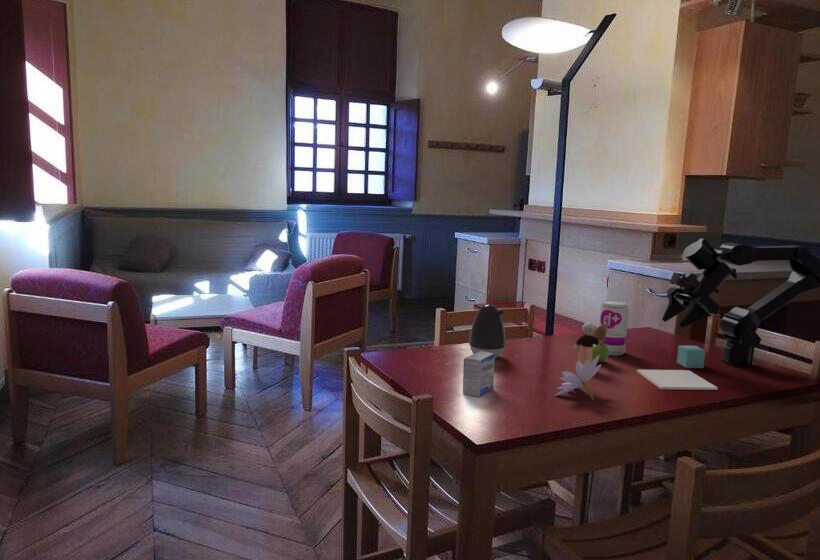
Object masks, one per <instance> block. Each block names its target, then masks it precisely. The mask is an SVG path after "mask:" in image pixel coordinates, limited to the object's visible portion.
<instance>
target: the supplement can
mask: <svg viewBox="0 0 820 560" xmlns="http://www.w3.org/2000/svg"><path fill="white" fill-rule="evenodd" d="M629 311H630V308H629V307H628V303H627V302H626V301H625V302H624V301H619V300H609V299H608V300H603V301H601V303H600V305H599V306H598V314H597V315H598V316H597V327H598V326H603V324H604V323H605V318H608V319H609V320H606V322H608V327H607V334H606V337H605V340H604V341H603V343H602V344H604V345H606V346H607V348H608V350H609V356H615V357H616V356H622V355H623V354H625V352H626V346H627V345H626V344H627V337H628V335H627V334H628V323H629Z"/></svg>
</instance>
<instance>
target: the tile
mask: <svg viewBox="0 0 820 560" xmlns="http://www.w3.org/2000/svg"><path fill="white" fill-rule="evenodd" d="M636 373H638V374H639V375H640V376H642V377H643V378H644V379H646V380H648V381H649V382H650V383H651V384H653V385H655V386H656V387H657V388H659V389H660V390H683V391H684V390H687V391H689V390H690V391H693V390H696V391H700V390H701V391H704V390H705V391H717V390H719V389H718V386H716V385H714V384H712V383H711V382H709V381H707V380H706V379H704V378H703V377H701V376H700V375H697V374H696V373H694V372H692V371H691V370H688V369H687V370H686V369H684V370H683V369H636Z"/></svg>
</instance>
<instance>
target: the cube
mask: <svg viewBox="0 0 820 560" xmlns="http://www.w3.org/2000/svg"><path fill="white" fill-rule="evenodd" d="M705 358H706V350H705V349H703V348H701V347H699V346H697V345H678V347H677V356H676V363H677V364H679V365H680V366H682V367H684V368H687V369H704V367H705Z"/></svg>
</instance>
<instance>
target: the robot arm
mask: <svg viewBox="0 0 820 560" xmlns="http://www.w3.org/2000/svg"><path fill="white" fill-rule="evenodd" d="M682 256H683V257H684V258H685V259H686V260H687V261H688V262H689V263H690V264H691V265H692V266H694V268H695V269H696V270H698V271H699V270H700V271H701V270H703V271H702V272H701V273H700V274H699V276H698V275H697V274H695V273H692V272H687V273H686V274H683V273H679V272H673V273H672V274H671V275H672V276H671V278H670V280H669V284H672V285H676V286H678V287H676V286H672V287H669V288H668V289H667V291H666V297H667V298H668V303H667V307H666V309H665V311H664V313H663V316H662V321H664V322H668V321H669V320H671V319H672V318H674V317H676V316H677V315H679V314H681V313H682V312H683V311H686V310H687V308H686V307H689V309H688V310H687V311H686V313H685V315H683V317H682V319H681V320H680V321H679V323H678V327H680V328H684V327H686V326H689V325H691V324H693V323H696V322H699V321H701V320H704V319H706V318H711V317H712V316H716V315H718V313H719V312H720V311H721V305H720V304H719V303H718V302H717V301H716V300H714V298H713V297H712V295H713V294H715V295H717V294H718V293H719V292H720V290H719V288H720V286H721V285H722V284H723V283H724V282H725V281H726V280H727V278H728V279H729V278H730V279H734V280H736V279H737V278H738V274H737V268H733V267H730V266H729V265H734V266H744V265H749V264H752V263H753V264H754V263H755V262H761V261H764V262H765V261H788V264H789V265H788V266H789V268H790V269H791V270H792V271H790V272H791V273H790V274H789V277H788V279H787V281H785V282H783V283H782V284H781V285H779V286H777V287H776V288H775V289H773V290H772V291H770V292H769V293H768V294H766V295H764V296H762V297H761V298H760V299H759V300H757V301H756V302H754V303H753V304H751V305H750V306H748V307H747V308H742V307H740V306H739V307H738V306H735V307H733V308H732V309H731V310H729V312H726V313H723V317H722V318H721V319H720V321H719V322H720V323H719V328H720V331H721V332H722V335H723V339H725V340H726V345H725V346H724V351H723V357H722V358H721V361H723V362H725V363H727V364H728V365H731V366H732V367H756V366H757V365H756V363H754V354H755V347H759V346H760V343H761V341H762V338H761V337H760V335H759V334H758V333H757V332H756V331H758V329H759V326H760V324H761V322H762V321H763V320H764V319H766V318H767V317H768V318H769V316H771V315H772V314H774V313H776V311H778V310H779V309H780V308H782V307H784V306H785V305H786V304H788V303H789V302H791V301H792V300H794V299H795V298H796V297H798V296H800V295H801V294H803V293H806V292H810V291H814V290H817V289H820V259H818V258H817V257H816V256H814V255H813V254H812V253H811V252H810V251H809V250H808V249H807V248H806V247H805V246H801V245H794V244H790V245H778V246H777V245H769V246H768V245H765V246H756V245H755V246H752V245H747V244H740V243H733V242H724V243H722V244H721V245H720V247H715V248H713V246H712V245H710V244H709V241H708V240H707V239H706V238H699V239H698V240H697V241H695V242H693V243H691V244H689V245H687V246H686V248H685V249H684V250H683V253H682ZM728 264H729V265H728ZM680 287H681V288H680Z"/></svg>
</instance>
